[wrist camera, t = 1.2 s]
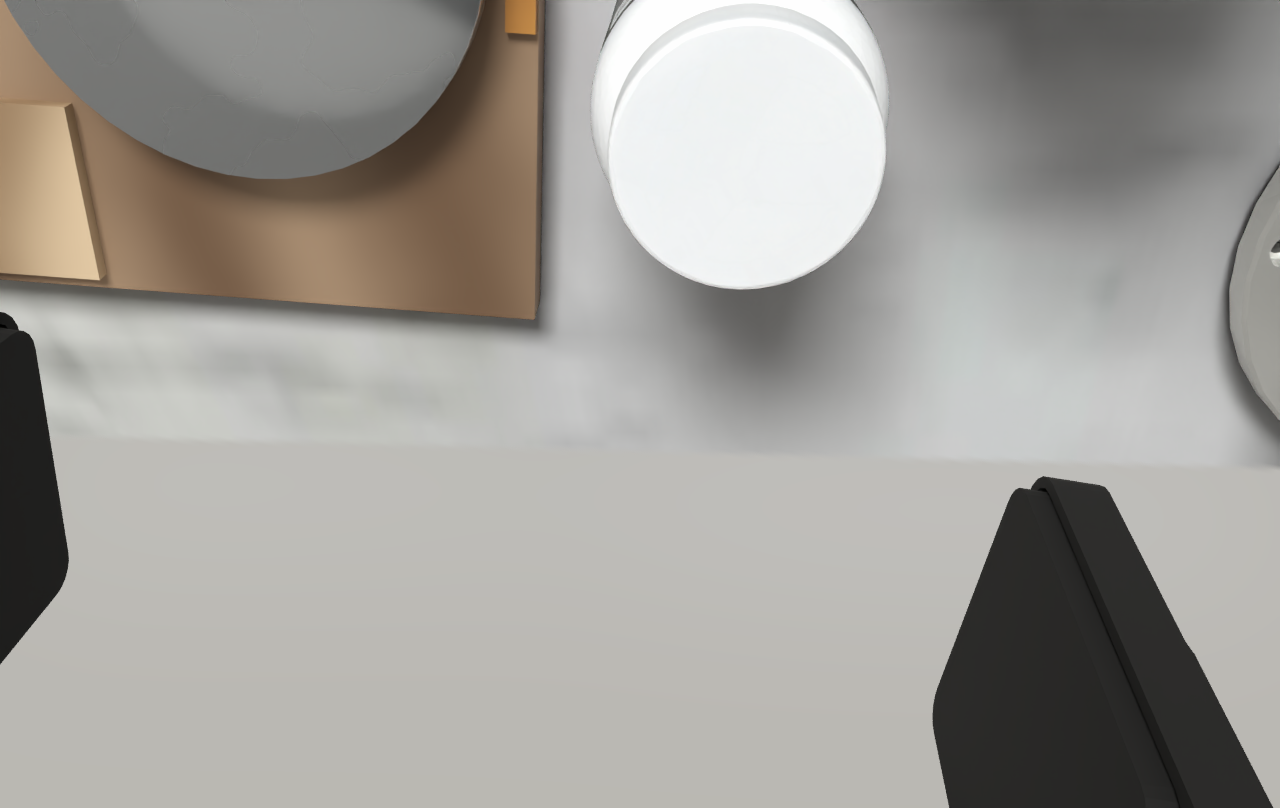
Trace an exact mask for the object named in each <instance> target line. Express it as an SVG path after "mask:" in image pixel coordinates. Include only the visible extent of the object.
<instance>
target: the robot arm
mask: <svg viewBox="0 0 1280 808" xmlns="http://www.w3.org/2000/svg"><path fill="white" fill-rule="evenodd" d="M1279 240H1280V166H1279V168H1278V169H1277V171H1276V173H1275V174H1274V176H1273V177H1272V179H1271V181H1270V182H1269V184H1268V185H1267V187H1266V188H1265V190H1264V192H1263V193H1262V195H1261V196H1260V198H1259V200H1258V201H1257V203H1256V205H1255V207H1254V210H1253V212H1252V214H1251V217H1250V219H1249V222H1248V224H1247V226H1246V229H1245V231H1244V234H1243V236H1242V238H1241V241H1240V243H1239V246H1238V250H1237V254H1236V259H1235V264H1234V269H1233V274H1232V279H1231V283H1230V288H1229V295H1230V330H1231V334H1232V338H1233V342H1234V345H1235V349H1236V353H1237V357H1238V361H1239V364H1240V366H1241V367H1242V369H1243V371H1244V373H1245V374H1246V376H1247V378H1248V380H1249V382H1250V383H1251V385H1252V387H1253V389H1254V390H1255V392H1256V394H1257V395H1258V396H1259V397H1260V398H1261V399H1262V401H1263V402H1264V403H1265V404H1266V405H1267V406H1268V407H1269V409H1270V410H1271V411H1272V412H1273V413H1274V415H1275V416H1276V417H1277V418H1278V419H1279V421H1280V241H1279ZM1278 241H1279V242H1278ZM1276 242H1278V243H1276ZM68 562H69V557H68V548H67V542H66V536H65V529H64V524H63V518H62V511H61V504H60V498H59V492H58V486H57V480H56V474H55V467H54V461H53V455H52V449H51V443H50V436H49V430H48V424H47V417H46V411H45V405H44V399H43V393H42V386H41V380H40V374H39V368H38V362H37V355H36V349H35V346H34V342H33V340H32V338H31V337H30V335H29V334H28V333H26V332H24V331H19V329H18V326H17V324H16V323H15V321H14V320H13V318H12V317H11V316H9V315H8V314H6V313H3V312H0V664H1V663H2V661H3V660H4V659H5V658H6V657H7V655H8V654H9V653H10V652H11V650H12V649H13V648H14V647H15V645H16V644H17V643H18V642H19V640H20V639H21V638H22V637H23V635H24V634H25V633H26V632H27V631H28V629H29V628H30V627H31V625H32V624H33V623H34V622H35V621H36V619H37V618H38V617H39V616H40V615H41V613H42V612H43V611H44V610H45V608H46V607H47V606H48V605H49V603H50V602H51V601H52V600H53V598H54V597H55V596H56V595H57V593H58V592H59V590H60V589H61V587H62V585H63V582H64V580H65V577H66V573H67V569H68ZM933 729H934V735H935V739H936V745H937V750H938V755H939V759H940V764H941V769H942V774H943V779H944V784H945V789H946V794H947V799H948V803H949V808H1273V807H1272V805H1271V803H1270V801H1269V799H1268V797H1267V795H1266V793H1265V791H1264V789H1263V787H1262V785H1261V783H1260V781H1259V779H1258V777H1257V775H1256V773H1255V771H1254V770H1253V767H1252V766H1251V764H1250V762H1249V760H1248V758H1247V756H1246V754H1245V752H1244V750H1243V748H1242V746H1241V744H1240V742H1239V740H1238V739H1237V736H1236V734H1235V732H1234V731H1233V728H1232V727H1231V725H1230V723H1229V721H1228V719H1227V717H1226V715H1225V713H1224V711H1223V709H1222V707H1221V705H1220V704H1219V701H1218V699H1217V697H1216V696H1215V693H1214V691H1213V690H1212V687H1211V686H1210V684H1209V682H1208V680H1207V678H1206V676H1205V674H1204V672H1203V670H1202V668H1201V666H1200V664H1199V662H1198V660H1197V658H1196V656H1195V654H1194V653H1193V652H1192V650H1191V649H1190V648H1189V646H1188V645H1187V643H1186V642H1185V640H1184V638H1183V636H1182V634H1181V632H1180V630H1179V628H1178V626H1177V624H1176V622H1175V621H1174V619H1173V616H1172V614H1171V612H1170V611H1169V609H1168V607H1167V605H1166V603H1165V601H1164V599H1163V597H1162V595H1161V593H1160V591H1159V589H1158V587H1157V585H1156V583H1155V581H1154V579H1153V577H1152V575H1151V573H1150V571H1149V569H1148V568H1147V565H1146V564H1145V561H1144V559H1143V558H1142V556H1141V554H1140V552H1139V550H1138V548H1137V546H1136V544H1135V542H1134V540H1133V538H1132V536H1131V534H1130V532H1129V530H1128V528H1127V526H1126V524H1125V522H1124V520H1123V518H1122V516H1121V514H1120V512H1119V510H1118V508H1117V507H1116V504H1115V503H1114V501H1113V499H1112V497H1111V495H1110V493H1109V492H1108V490H1107V489H1106V488H1105V487H1103V486H1100V485H1095V484H1088V483H1082V482H1076V481H1070V480H1063V479H1057V478H1050V477H1044V476H1043V477H1041V478H1039V479H1038V480H1037V481H1036V482H1035V483H1034V484H1033V486H1032V488H1031V490H1030V489H1023V488H1018V489H1016V490H1015V491H1014V492H1013V494H1012V495H1011V497H1010V500H1009V502H1008V504H1007V507H1006V509H1005V512H1004V514H1003V517H1002V520H1001V522H1000V525H999V528H998V530H997V533H996V536H995V538H994V541H993V543H992V546H991V549H990V552H989V554H988V557H987V559H986V562H985V564H984V567H983V570H982V572H981V575H980V578H979V580H978V583H977V586H976V588H975V591H974V593H973V596H972V599H971V601H970V604H969V607H968V609H967V612H966V614H965V617H964V620H963V622H962V625H961V627H960V630H959V633H958V635H957V638H956V641H955V643H954V646H953V649H952V651H951V654H950V656H949V659H948V662H947V664H946V667H945V670H944V672H943V675H942V677H941V680H940V683H939V685H938V688H937V692H936V694H935V699H934V705H933Z"/></svg>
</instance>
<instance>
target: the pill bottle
mask: <svg viewBox="0 0 1280 808" xmlns="http://www.w3.org/2000/svg"><path fill="white" fill-rule="evenodd" d="M590 113H591V130H592V137H593V142H594V146H595V150H596V154H597V156H598V159H599V162H600V165H601V167H602V170H603V172H604V174H605V176H606V178H607V180H608V182H609V184H610V186H611V190H612V194H613V197H614V200H615V203H616V206H617V208H618V210H619V212H620V214H621V217H622V219H623V220H624V222H625V224H626V225H627V227H628V228H629V230H630V231H631V233H632V235H633V236H634V237H635V238H636V240H637V241H638V242H639V244H640V245H641V246H642V247H643V248H644V249H645V250H646V251H647V252H648V253H649V254H650V255H651V256H653V257H654V258H655V259H656V260H657V261H659V262H660V263H661V264H663V265H665V266H666V267H668V268H669V269H671V270H672V271H674V272H675V273H677V274H679V275H681V276H683V277H685V278H687V279H690V280H693V281H695V282H698V283H702V284H705V285H709V286H714V287H718V288H726V289H736V290H744V289H759V288H765V287H772V286H777V285H780V284H784V283H788V282H791V281H793V280H795V279H797V278H800V277H802V276H805V275H807V274H808V273H810V272H812V271H814V270H815V269H817V268H819V267H820V266H822V265H824V264H825V263H826V262H828V261H829V260H830V259H832V258H833V257H834V256H835V255H837V254H838V253H839V252H840V251H841V250H843V249H844V247H845V246H846V245H847V244H848V243H849V242H850V241H851V240H852V239H853V238H854V236H855V235H856V234H857V233H858V231H859V230H860V229H861V227H862V226H863V224H864V223H865V221H866V219H867V218H868V216H869V214H870V212H871V210H872V208H873V206H874V204H875V202H876V200H877V197H878V194H879V191H880V188H881V185H882V181H883V175H884V171H885V165H886V134H885V133H886V128H887V122H888V115H889V86H888V79H887V73H886V67H885V64H884V61H883V57H882V54H881V51H880V48H879V45H878V43H877V40H876V38H875V36H874V34H873V31H872V29H871V27H870V25H869V24H868V22H867V20H866V19H865V17H864V15H863V14H862V12H861V11H860V9H859V8H858V6H857V5H856V3H855V2H854V0H617V2H616V5H615V9H614V12H613V15H612V19H611V22H610V25H609V28H608V31H607V34H606V37H605V40H604V43H603V46H602V49H601V51H600V55H599V59H598V63H597V66H596V70H595V75H594V79H593V83H592V91H591V104H590Z"/></svg>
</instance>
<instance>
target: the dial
mask: <svg viewBox="0 0 1280 808" xmlns="http://www.w3.org/2000/svg"><path fill="white" fill-rule="evenodd" d="M4 1H5V3H6V5H7V7H8V9H9V11H10V12H11V14H12V16H13V18H14V19H15V21H16V22H17V24H18V25H19V26H20V28H21V29H22V31H23V32H24V34H25V35H26V37H27V38H28V40H29V41H30V43H31V44H32V46H33V47H34V48H35V50H36V51H37V52H38V53H39V54H40V56H41V57H42V58H43V59H44V60H45V62H46V63H47V64H48V65H49V67H50V68H51V69H52V70H53V71H54V73H55V74H56V75H57V76H58V77H59V78H60V79H61V80H62V81H63V82H64V83H65V84H66V85H67V86H68V87H69V88H70V89H71V90H72V91H73V92H74V93H75V94H76V95H77V96H78V97H79V98H80V99H81V100H83V101H84V102H85V103H86V104H87V105H89V106H90V107H91V108H92V109H94V110H95V111H96V112H97V113H99V114H100V115H101V116H102V117H103V118H105V119H106V120H107V121H108V122H110V123H112V124H113V125H115V126H116V127H118V128H119V129H121V130H122V131H124V132H125V133H127V134H128V135H130V136H131V137H133V138H134V139H136V140H138V141H140V142H142V143H143V144H145V145H147V146H149V147H151V148H153V149H155V150H157V151H159V152H161V153H163V154H165V155H167V156H170V157H172V158H175V159H177V160H180V161H183V162H185V163H188V164H190V165H193V166H195V167H199V168H203V169H207V170H211V171H214V172H218V173H222V174H226V175H233V176H240V177H248V178H255V179H291V178H299V177H307V176H315V175H319V174H323V173H327V172H331V171H335V170H338V169H342V168H345V167H347V166H350V165H352V164H354V163H357V162H359V161H362V160H364V159H366V158H369V157H371V156H372V155H374V154H376V153H377V152H379V151H380V150H382V149H384V148H385V147H387V146H389V145H390V144H392V143H394V142H395V141H396V140H397V139H399V138H400V137H401V136H402V135H403V134H405V133H406V132H407V131H408V130H410V129H411V128H412V127H413V126H414V125H416V124H417V123H418V121H419V120H420V119H421V118H422V117H423V116H424V115H425V114H426V113H427V111H428V110H429V109H430V108H431V107H432V106H433V105H434V104H435V103H436V101H437V100H438V99H439V97H440V96H441V95H442V93H443V92H444V90H445V89H446V87H447V86H448V84H449V83H450V81H451V80H452V78H453V77H454V75H455V74H456V72H457V71H458V69H459V68H460V66H461V65H462V62H463V60H464V58H465V56H466V54H467V52H468V50H469V48H470V46H471V44H472V42H473V40H474V37H475V34H476V31H477V28H478V25H479V21H480V18H481V15H482V12H483V9H484V4H485V0H4Z"/></svg>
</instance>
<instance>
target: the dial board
mask: <svg viewBox="0 0 1280 808" xmlns="http://www.w3.org/2000/svg"><path fill="white" fill-rule="evenodd" d="M544 31H545V0H485V4H484V9H483V12H482V15H481V18H480V21H479V25H478V28H477V31H476V34H475V37H474V40H473V42H472V44H471V46H470V48H469V50H468V52H467V54H466V56H465V58H464V60H463V62H462V65H461V66H460V68H459V69H458V71H457V72H456V74H455V75H454V77H453V78H452V80H451V81H450V83H449V84H448V86H447V87H446V89H445V90H444V92H443V93H442V95H441V96H440V97H439V99H438V100H437V101H436V103H435V104H434V105H433V106H432V107H431V108H430V109H429V110H428V111H427V113H426V114H425V115H424V116H423V117H422V118H421V119H420V120H419V121H418V123H417V124H416V125H414V126H413V127H412V128H411V129H410V130H408V131H407V132H406V133H405V134H403V135H402V136H401V137H400V138H399V139H397V140H396V141H395V142H394V143H392V144H390V145H389V146H387V147H385V148H384V149H382V150H380V151H379V152H377V153H376V154H374V155H372V156H371V157H369V158H366V159H364V160H362V161H359V162H357V163H354V164H352V165H350V166H347V167H345V168H342V169H338V170H335V171H331V172H327V173H323V174H319V175H315V176H307V177H299V178H291V179H255V178H248V177H240V176H233V175H226V174H222V173H218V172H214V171H211V170H207V169H203V168H199V167H195V166H193V165H190V164H188V163H185V162H183V161H180V160H177V159H175V158H172V157H170V156H167V155H165V154H163V153H161V152H159V151H157V150H155V149H153V148H151V147H149V146H147V145H145V144H143V143H142V142H140V141H138V140H136V139H134V138H133V137H131V136H130V135H128V134H127V133H125V132H124V131H122V130H121V129H119V128H118V127H116V126H115V125H113V124H112V123H110V122H108V121H107V120H106V119H105V118H103V117H102V116H101V115H100V114H99V113H97V112H96V111H95V110H94V109H92V108H91V107H90V106H89V105H87V104H86V103H85V102H84V101H83V100H81V99H80V98H79V97H78V96H77V95H76V94H75V93H74V92H73V91H72V90H71V89H70V88H69V87H68V86H67V85H66V84H65V83H64V82H63V81H62V80H61V79H60V78H59V77H58V76H57V75H56V74H55V73H54V71H53V70H52V69H51V68H50V67H49V65H48V64H47V63H46V62H45V60H44V59H43V58H42V57H41V56H40V54H39V53H38V52H37V51H36V50H35V48H34V47H33V46H32V44H31V43H30V41H29V40H28V38H27V37H26V35H25V34H24V32H23V31H22V29H21V28H20V26H19V25H18V24H17V22H16V21H15V19H14V18H13V16H12V14H11V12H10V11H9V9H8V7H7V5H6V3H5V1H4V0H0V279H1V280H14V281H28V282H41V283H54V284H67V285H81V286H94V287H107V288H120V289H134V290H147V291H160V292H173V293H187V294H200V295H213V296H227V297H240V298H253V299H266V300H280V301H293V302H306V303H319V304H333V305H346V306H359V307H373V308H386V309H399V310H412V311H426V312H439V313H452V314H465V315H479V316H492V317H505V318H519V319H532V320H535V316H536V313H537V309H538V306H539V302H540V266H541V207H542V149H543V90H544Z"/></svg>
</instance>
